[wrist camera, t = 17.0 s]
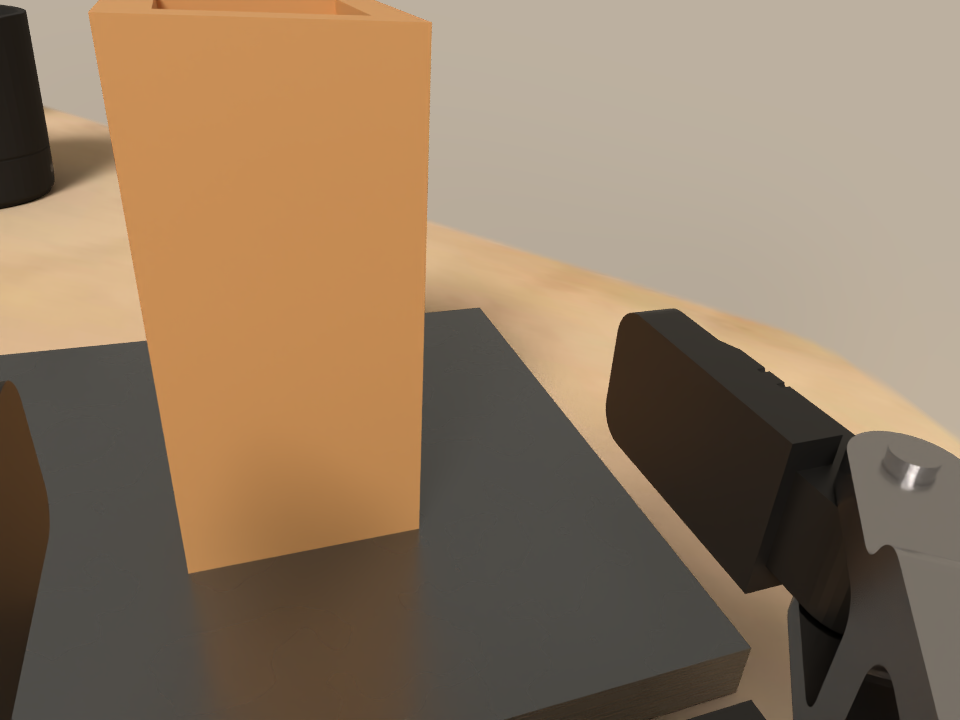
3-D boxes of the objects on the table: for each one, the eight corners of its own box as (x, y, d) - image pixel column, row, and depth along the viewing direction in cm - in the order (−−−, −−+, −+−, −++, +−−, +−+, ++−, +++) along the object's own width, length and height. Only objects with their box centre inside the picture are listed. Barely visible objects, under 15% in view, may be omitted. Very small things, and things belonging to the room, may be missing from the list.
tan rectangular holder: (418, 528, 19) (431, 22, 14) (188, 573, 18) (88, 12, 12) (371, 412, 24) (365, -4, 18) (184, 439, 22) (110, -14, 16)
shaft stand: (735, 692, 17) (856, 342, 13) (-230, 991, 12) (-620, 546, 7) (477, 339, 32) (491, 118, 28) (-7, 394, 26) (-88, 125, 22)
